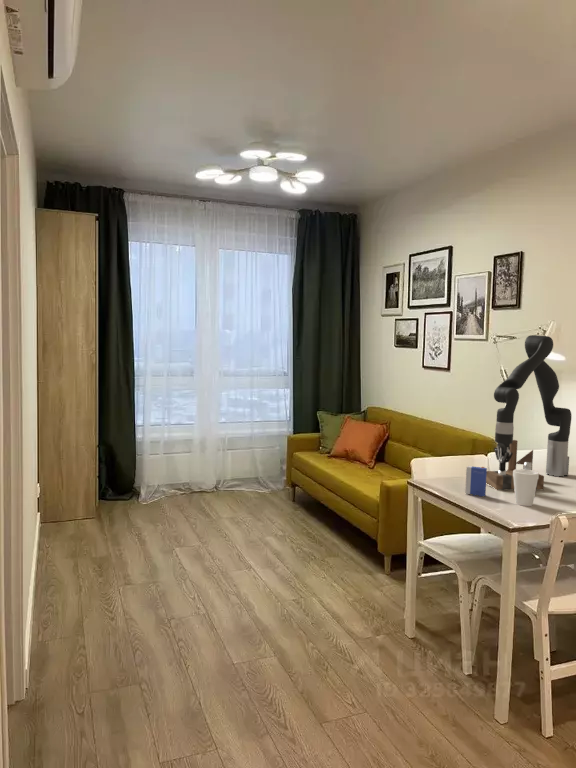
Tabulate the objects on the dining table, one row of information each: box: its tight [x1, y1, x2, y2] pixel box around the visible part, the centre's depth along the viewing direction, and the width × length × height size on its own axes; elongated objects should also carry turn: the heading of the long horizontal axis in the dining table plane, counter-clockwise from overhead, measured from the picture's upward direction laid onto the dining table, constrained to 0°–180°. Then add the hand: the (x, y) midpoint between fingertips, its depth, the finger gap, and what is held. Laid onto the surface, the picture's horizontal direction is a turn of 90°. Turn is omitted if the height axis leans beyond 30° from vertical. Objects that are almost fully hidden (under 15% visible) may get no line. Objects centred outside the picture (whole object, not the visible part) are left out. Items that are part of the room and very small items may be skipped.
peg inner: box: [524, 462, 533, 471], centre depth 263 cm, size 3×3×6 cm
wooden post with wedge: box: [506, 439, 534, 471], centre depth 280 cm, size 4×11×18 cm, turn 60°
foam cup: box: [513, 468, 540, 507], centre depth 235 cm, size 10×9×13 cm
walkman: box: [464, 465, 488, 497], centre depth 247 cm, size 8×3×12 cm, turn 62°
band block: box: [486, 470, 545, 490], centre depth 263 cm, size 22×10×6 cm, turn 97°
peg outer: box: [497, 469, 507, 475], centre depth 262 cm, size 3×3×6 cm
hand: (502, 470), depth 262 cm, fingers closed
